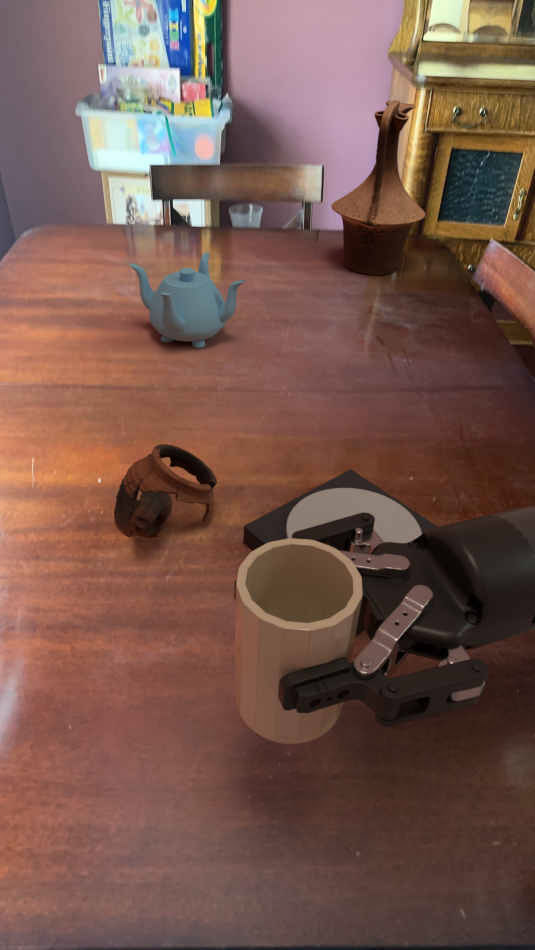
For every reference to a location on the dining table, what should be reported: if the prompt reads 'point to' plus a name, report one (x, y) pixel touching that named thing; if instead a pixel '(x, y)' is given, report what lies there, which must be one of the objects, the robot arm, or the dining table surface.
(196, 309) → the teapot
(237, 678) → the cup
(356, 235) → the pitcher
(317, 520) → the scale
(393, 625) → the robot arm
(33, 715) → the dining table surface
